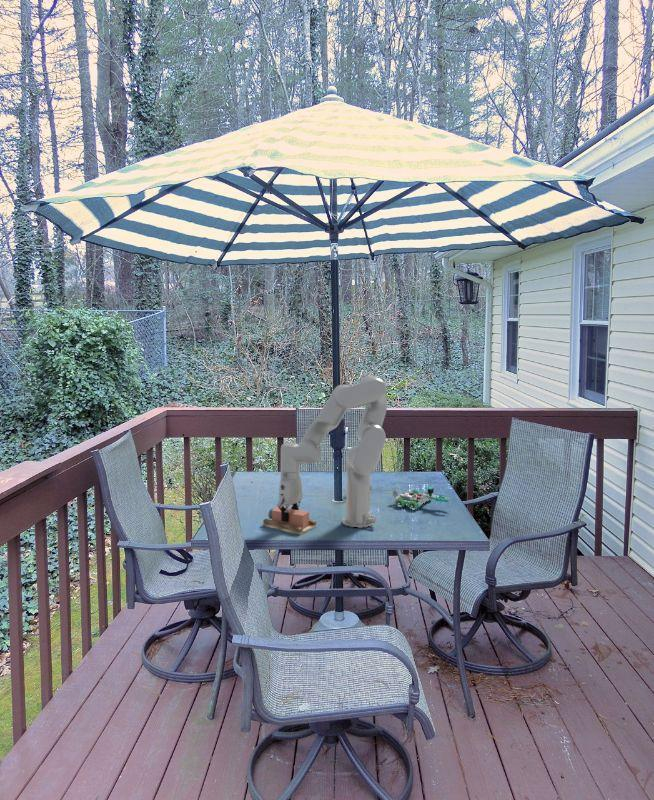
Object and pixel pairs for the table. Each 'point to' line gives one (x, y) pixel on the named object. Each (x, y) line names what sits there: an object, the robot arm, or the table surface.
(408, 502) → the robot kit
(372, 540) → the table surface
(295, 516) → the salmon rectangular block
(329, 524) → the table surface
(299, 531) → the cradle
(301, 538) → the table surface
